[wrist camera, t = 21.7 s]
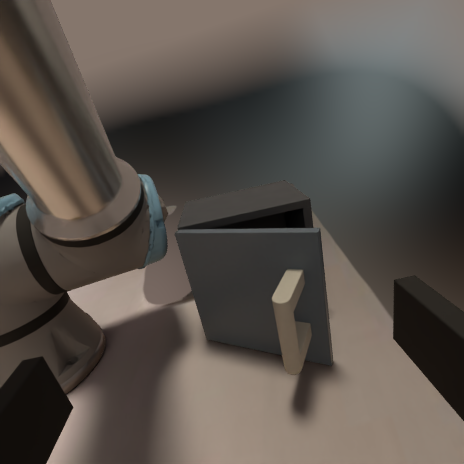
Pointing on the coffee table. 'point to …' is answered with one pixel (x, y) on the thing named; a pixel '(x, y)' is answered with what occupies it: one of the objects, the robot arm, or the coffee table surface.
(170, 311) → the coffee table surface
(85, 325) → the robot arm
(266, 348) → the grey cabinet door
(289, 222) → the grey box
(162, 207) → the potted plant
